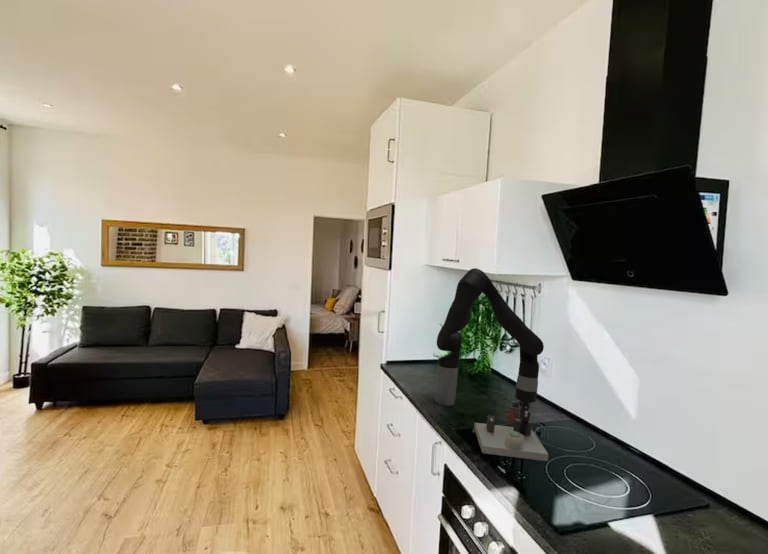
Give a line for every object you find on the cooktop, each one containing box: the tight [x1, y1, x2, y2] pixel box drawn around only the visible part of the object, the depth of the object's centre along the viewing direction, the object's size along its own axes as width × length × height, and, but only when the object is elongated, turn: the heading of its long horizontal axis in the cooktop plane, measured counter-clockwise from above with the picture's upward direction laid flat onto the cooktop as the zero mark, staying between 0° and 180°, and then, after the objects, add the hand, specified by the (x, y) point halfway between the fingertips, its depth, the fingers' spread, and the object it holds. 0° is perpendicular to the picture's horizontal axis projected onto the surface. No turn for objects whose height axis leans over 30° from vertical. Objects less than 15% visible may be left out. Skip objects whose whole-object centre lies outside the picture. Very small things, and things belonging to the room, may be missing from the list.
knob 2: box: [513, 419, 533, 436], centre depth 151 cm, size 2×6×4 cm, turn 55°
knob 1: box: [485, 414, 496, 432], centre depth 152 cm, size 2×6×4 cm, turn 169°
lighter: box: [507, 399, 526, 427], centre depth 166 cm, size 8×3×10 cm, turn 105°
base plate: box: [473, 422, 549, 462], centre depth 147 cm, size 20×22×7 cm
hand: (521, 431), depth 152 cm, fingers closed on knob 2, 3 cm apart
